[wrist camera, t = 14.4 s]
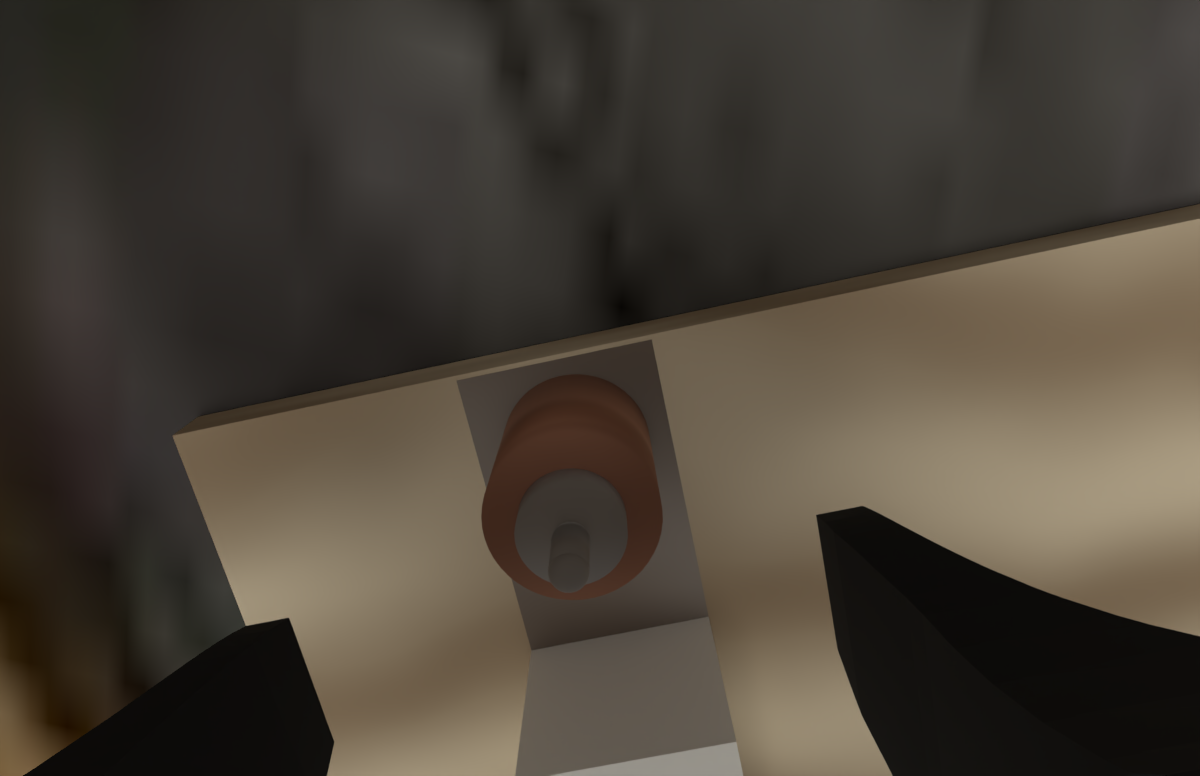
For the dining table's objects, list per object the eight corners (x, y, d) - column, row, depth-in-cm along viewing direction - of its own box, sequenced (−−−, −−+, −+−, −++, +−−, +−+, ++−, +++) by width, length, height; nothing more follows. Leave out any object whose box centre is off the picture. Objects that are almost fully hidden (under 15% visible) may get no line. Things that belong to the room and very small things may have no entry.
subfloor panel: (1229, 757, 22) (1266, 794, 20) (381, 905, 23) (369, 947, 22) (1227, 198, 18) (1272, 203, 16) (198, 416, 19) (171, 436, 18)
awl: (664, 494, 18) (692, 649, 13) (525, 525, 18) (494, 692, 13) (632, 359, 17) (647, 462, 12) (486, 392, 17) (436, 510, 12)
